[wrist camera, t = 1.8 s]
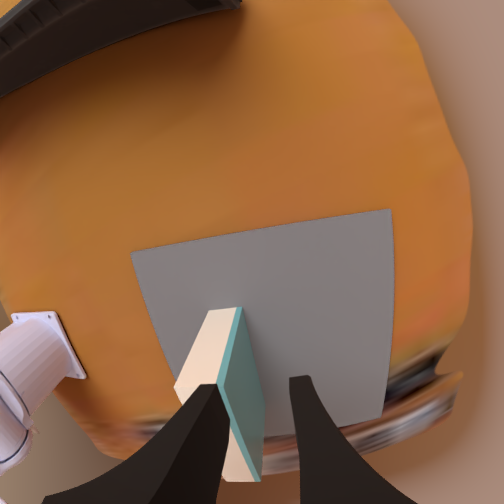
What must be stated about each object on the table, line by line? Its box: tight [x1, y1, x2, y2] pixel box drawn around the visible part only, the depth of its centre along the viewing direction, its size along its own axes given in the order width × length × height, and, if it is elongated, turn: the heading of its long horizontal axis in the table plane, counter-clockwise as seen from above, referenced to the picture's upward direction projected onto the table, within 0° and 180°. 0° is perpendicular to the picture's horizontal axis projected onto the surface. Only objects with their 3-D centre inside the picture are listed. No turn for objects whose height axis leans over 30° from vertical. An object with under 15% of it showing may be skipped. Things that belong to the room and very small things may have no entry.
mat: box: [130, 209, 394, 437], centre depth 20 cm, size 18×20×1 cm
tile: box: [174, 307, 266, 482], centre depth 16 cm, size 2×10×8 cm, turn 11°
